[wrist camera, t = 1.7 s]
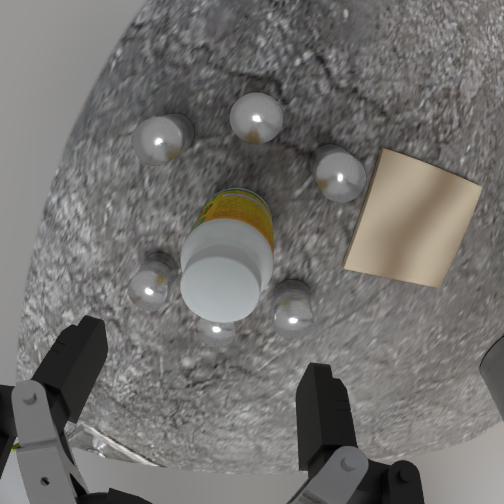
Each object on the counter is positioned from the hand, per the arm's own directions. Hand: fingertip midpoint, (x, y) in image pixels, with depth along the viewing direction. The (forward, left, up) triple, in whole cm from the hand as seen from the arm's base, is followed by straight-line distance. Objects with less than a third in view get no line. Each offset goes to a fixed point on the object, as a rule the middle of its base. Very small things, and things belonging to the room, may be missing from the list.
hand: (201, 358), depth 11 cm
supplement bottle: (0, 0, -14) cm, 14 cm away
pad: (-14, -3, -14) cm, 20 cm away
